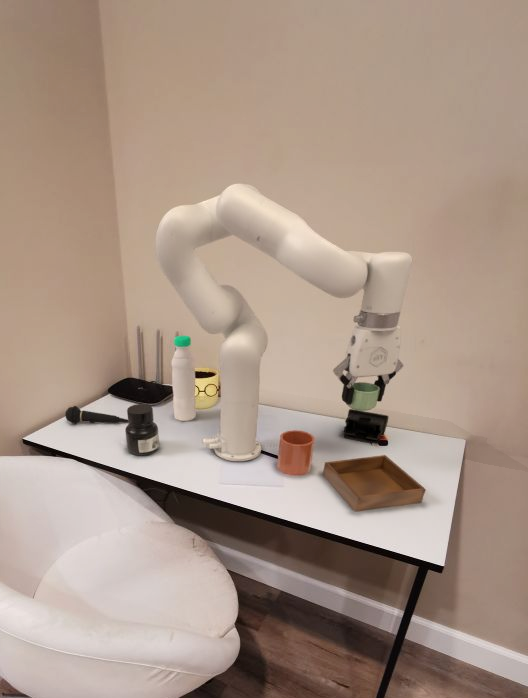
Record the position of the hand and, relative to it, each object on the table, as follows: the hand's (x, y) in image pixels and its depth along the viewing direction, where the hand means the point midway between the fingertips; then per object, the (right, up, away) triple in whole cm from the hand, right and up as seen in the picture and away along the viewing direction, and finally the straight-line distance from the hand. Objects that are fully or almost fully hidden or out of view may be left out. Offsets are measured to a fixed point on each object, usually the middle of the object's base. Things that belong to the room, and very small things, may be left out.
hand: (361, 400), depth 99 cm
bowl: (0, -1, +1) cm, 1 cm away
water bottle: (-39, +2, +38) cm, 55 cm away
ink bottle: (-51, -10, +22) cm, 57 cm away
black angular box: (+10, -6, +22) cm, 25 cm away
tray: (+2, -20, 0) cm, 20 cm away
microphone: (-67, -1, +37) cm, 77 cm away
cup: (-13, -15, +9) cm, 22 cm away
